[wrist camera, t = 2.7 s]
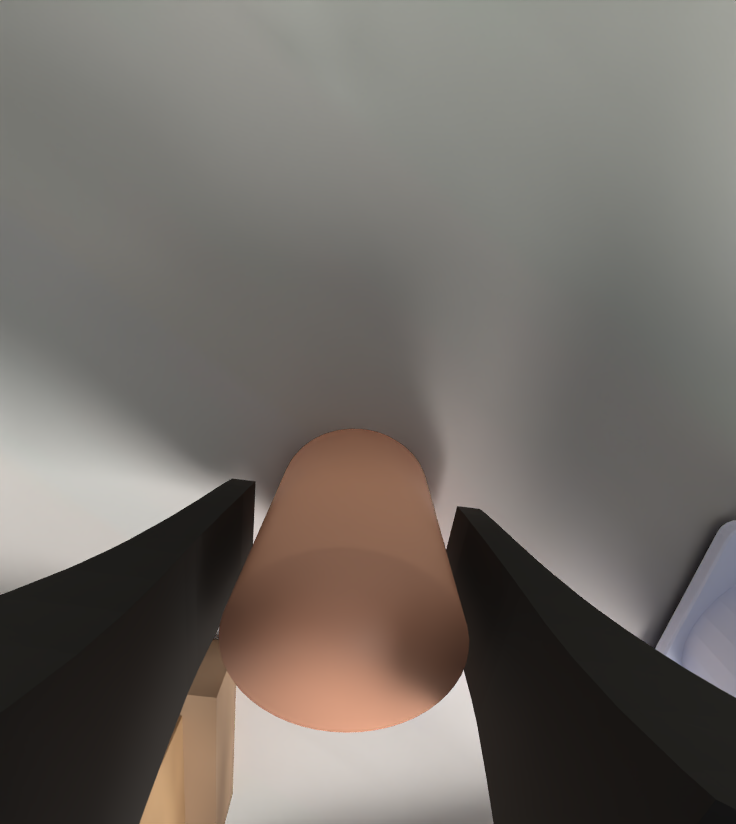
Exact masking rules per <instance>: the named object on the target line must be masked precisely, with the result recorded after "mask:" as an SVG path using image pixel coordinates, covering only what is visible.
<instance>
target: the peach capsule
mask: <svg viewBox="0 0 736 824" xmlns="http://www.w3.org/2000/svg"><path fill="white" fill-rule="evenodd" d="M219 649H220V653H221V657H222V661H223V663H224V665H225V667H226V670H227V672H228V674H229V675H230V677H231V678H232V680H233V681H234V683H235V684H236V685H237V686H238V688H239V689H240V690H241V691H242V692H243V693H244V694H245V695H246V696H247V697H248V698H249V699H250V700H252V701H253V702H254V703H255V704H257V705H258V706H260V707H261V708H262V709H264V710H266V711H267V712H269V713H271V714H273V715H275V716H277V717H279V718H281V719H283V720H286V721H288V722H291V723H294V724H297V725H300V726H303V727H307V728H312V729H316V730H323V731H330V732H364V731H372V730H378V729H382V728H387V727H391V726H394V725H397V724H400V723H403V722H406V721H408V720H410V719H413V718H415V717H417V716H419V715H420V714H422V713H424V712H426V711H427V710H429V709H430V708H432V707H433V706H434V705H436V704H437V703H438V702H439V701H441V700H442V699H443V698H444V697H445V696H446V695H447V694H448V693H449V692H450V690H451V689H452V688H453V687H454V686H455V684H456V683H457V681H458V679H459V678H460V676H461V674H462V672H463V669H464V667H465V664H466V661H467V657H468V652H469V634H468V627H467V623H466V620H465V616H464V613H463V609H462V606H461V602H460V599H459V595H458V591H457V588H456V584H455V581H454V577H453V574H452V570H451V567H450V563H449V559H448V556H447V552H446V549H445V545H444V542H443V538H442V534H441V531H440V527H439V524H438V520H437V517H436V513H435V510H434V506H433V502H432V499H431V495H430V492H429V488H428V485H427V481H426V478H425V475H424V472H423V470H422V468H421V466H420V464H419V462H418V461H417V459H416V458H415V456H414V455H413V454H412V453H411V452H410V451H409V450H408V449H407V448H406V447H404V446H403V445H402V444H401V443H399V442H398V441H396V440H394V439H393V438H391V437H389V436H386V435H384V434H381V433H378V432H375V431H370V430H365V429H343V430H337V431H333V432H329V433H326V434H324V435H321V436H319V437H317V438H315V439H313V440H312V441H310V442H309V443H307V444H306V445H305V446H304V447H302V448H301V449H300V450H299V451H298V452H297V453H296V455H295V456H294V457H293V459H292V460H291V461H290V463H289V465H288V467H287V469H286V471H285V473H284V476H283V478H282V480H281V483H280V485H279V487H278V489H277V492H276V494H275V496H274V498H273V501H272V503H271V505H270V507H269V510H268V512H267V514H266V517H265V519H264V521H263V523H262V526H261V528H260V530H259V532H258V535H257V537H256V539H255V541H254V544H253V546H252V548H251V551H250V553H249V555H248V557H247V560H246V562H245V564H244V566H243V569H242V571H241V573H240V575H239V578H238V580H237V582H236V585H235V587H234V589H233V591H232V594H231V596H230V598H229V600H228V603H227V605H226V607H225V610H224V612H223V615H222V618H221V622H220V627H219Z"/></svg>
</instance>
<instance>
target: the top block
mask: <svg viewBox="0 0 736 824" xmlns="http://www.w3.org/2000/svg"><path fill="white" fill-rule="evenodd" d="M140 824H185V795H184V759H183V724H182V716H179V718H178V721H177V723H176V726H175V728H174V731H173V734H172V736H171V739H170V742H169V744H168V747H167V750H166V752H165V755H164V758H163V760H162V763H161V766H160V769H159V771H158V774H157V777H156V780H155V782H154V785H153V788H152V790H151V793H150V796H149V799H148V801H147V804H146V807H145V810H144V812H143V815H142V818H141V821H140Z"/></svg>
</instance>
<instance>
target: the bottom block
mask: <svg viewBox="0 0 736 824" xmlns="http://www.w3.org/2000/svg"><path fill="white" fill-rule="evenodd" d="M235 698H236V684H235V683H234V681H233V680H232V678H231V677H230V675H229V674H228V672H227V670H226V667H225V665H224V663H223V661H222V657H221V653H220V649H219V640H218V639H213V640H212V642H211V644H210V647H209V649H208V651H207V653H206V655H205V657H204V659H203V661H202V663H201V665H200V667H199V669H198V671H197V674H196V676H195V678H194V681H193V683H192V685H191V687H190V690H189V692H188V694H187V697H186V700H185V702H184V705H183V707H182V710H181V713H180V715H179V716H182V724H183V759H184V795H185V824H225V820H226V816H227V813H228V809H229V805H230V801H231V798H232V794H233V763H234V730H235Z"/></svg>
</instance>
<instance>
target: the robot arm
mask: <svg viewBox="0 0 736 824" xmlns="http://www.w3.org/2000/svg"><path fill="white" fill-rule="evenodd" d="M254 505H255V481H247V480H239V479H231V480H229V481H227V482H226V483H224V484H222V485H221V486H219V487H217V488H216V489H214V490H213V491H211V492H210V493H208V494H207V495H205V496H203V497H202V498H200V499H199V500H197V501H195V502H194V503H192V504H191V505H189V506H187V507H186V508H184V509H182V510H181V511H179V512H178V513H176V514H174V515H173V516H171V517H169V518H167V519H166V520H164V521H162V522H160V523H158V524H157V525H155V526H153V527H151V528H149V529H148V530H146V531H144V532H142V533H141V534H139V535H137V536H135V537H133V538H132V539H130V540H128V541H126V542H124V543H122V544H120V545H118V546H116V547H114V548H112V549H110V550H108V551H106V552H103V553H101V554H99V555H97V556H95V557H93V558H90V559H88V560H86V561H84V562H82V563H79V564H77V565H75V566H73V567H70V568H68V569H66V570H63V571H61V572H58V573H56V574H53V575H50V576H48V577H45V578H43V579H40V580H38V581H35V582H33V583H30V584H28V585H25V586H23V587H20V588H18V589H15V590H13V591H10V592H8V593H5V594H2V595H0V824H140V821H141V818H142V815H143V812H144V810H145V807H146V804H147V801H148V799H149V796H150V793H151V790H152V788H153V785H154V782H155V780H156V777H157V774H158V771H159V769H160V766H161V763H162V760H163V758H164V755H165V752H166V750H167V747H168V744H169V742H170V739H171V736H172V734H173V731H174V728H175V726H176V723H177V721H178V718H179V715H180V713H181V710H182V707H183V705H184V702H185V700H186V697H187V694H188V692H189V690H190V687H191V685H192V683H193V681H194V678H195V676H196V674H197V671H198V669H199V667H200V665H201V663H202V661H203V659H204V657H205V655H206V653H207V651H208V649H209V647H210V644H211V642H212V640H213V638H214V636H215V634H216V632H217V630H218V628H219V626H220V622H221V618H222V615H223V612H224V610H225V607H226V605H227V603H228V600H229V598H230V596H231V594H232V591H233V589H234V587H235V585H236V582H237V580H238V578H239V575H240V573H241V571H242V569H243V566H244V564H245V562H246V560H247V557H248V555H249V553H250V551H251V548H252V546H253V527H254ZM446 552H447V556H448V559H449V563H450V567H451V570H452V574H453V577H454V581H455V584H456V588H457V591H458V595H459V599H460V602H461V606H462V609H463V613H464V616H465V620H466V623H467V627H468V634H469V652H468V657H467V661H466V664H465V667H464V673H465V676H466V680H467V684H468V688H469V691H470V695H471V699H472V703H473V708H474V712H475V717H476V721H477V726H478V732H479V738H480V743H481V749H482V755H483V760H484V766H485V772H486V778H487V784H488V790H489V797H490V803H491V809H492V816H493V822H494V824H736V520H733V521H730V522H727V523H726V524H724V525H723V526H721V528H720V529H719V530H718V532H717V534H716V535H715V537H714V539H713V541H712V543H711V545H710V547H709V549H708V550H707V552H706V554H705V556H704V558H703V560H702V562H701V563H700V565H699V567H698V569H697V571H696V573H695V575H694V577H693V578H692V580H691V582H690V584H689V586H688V588H687V590H686V592H685V593H684V595H683V597H682V599H681V601H680V603H679V605H678V606H677V608H676V610H675V612H674V614H673V616H672V618H671V620H670V621H669V623H668V625H667V627H666V629H665V631H664V633H663V635H662V636H661V638H660V640H659V642H658V644H657V646H656V648H655V649H654V648H653V647H651V646H649V645H648V644H646V643H645V642H643V641H642V640H640V639H639V638H637V637H636V636H634V635H633V634H631V633H630V632H628V631H627V630H626V629H624V628H623V627H621V626H620V625H619V624H617V623H616V622H614V621H613V620H612V619H610V618H609V617H607V616H606V615H605V614H603V613H602V612H600V611H599V610H598V609H596V608H595V607H594V606H592V605H591V604H590V603H588V602H587V601H586V600H584V599H583V598H582V597H580V596H579V595H578V594H577V593H575V592H574V591H573V590H572V589H571V588H569V587H568V586H567V585H566V584H564V583H563V582H562V581H561V580H560V579H558V578H557V577H556V576H555V575H553V574H552V573H551V572H550V571H549V570H548V569H546V568H545V567H544V566H543V565H542V564H541V563H539V562H538V561H537V560H536V559H535V558H534V557H533V556H532V555H530V554H529V553H528V552H527V551H526V550H525V549H524V548H523V547H522V546H521V545H519V544H518V543H517V542H516V541H515V540H514V539H513V538H512V537H511V536H510V535H509V534H508V533H506V532H505V531H504V530H503V529H502V528H501V527H500V526H499V525H498V524H497V523H496V522H494V521H493V520H492V519H491V518H490V517H489V516H488V515H487V514H485V513H484V512H483V511H482V510H480V509H475V508H467V507H459V506H457V510H456V513H455V517H454V521H453V525H452V529H451V533H450V537H449V541H448V545H447V549H446Z"/></svg>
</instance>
